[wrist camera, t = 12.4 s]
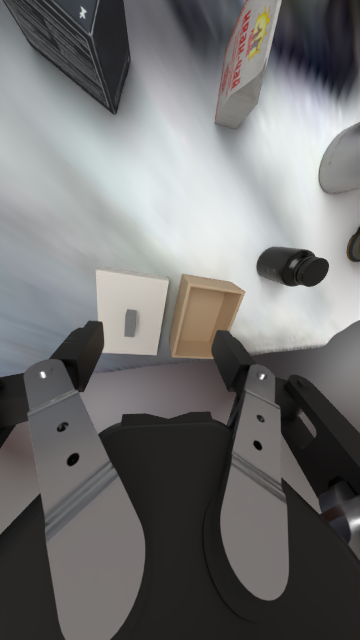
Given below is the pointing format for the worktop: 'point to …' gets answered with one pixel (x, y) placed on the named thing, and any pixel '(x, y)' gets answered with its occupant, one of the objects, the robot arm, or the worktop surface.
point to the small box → (80, 41)
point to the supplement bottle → (292, 266)
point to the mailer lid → (130, 310)
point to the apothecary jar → (354, 247)
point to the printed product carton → (246, 61)
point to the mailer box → (202, 315)
